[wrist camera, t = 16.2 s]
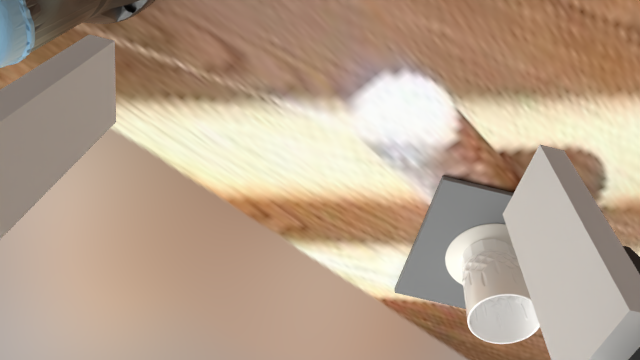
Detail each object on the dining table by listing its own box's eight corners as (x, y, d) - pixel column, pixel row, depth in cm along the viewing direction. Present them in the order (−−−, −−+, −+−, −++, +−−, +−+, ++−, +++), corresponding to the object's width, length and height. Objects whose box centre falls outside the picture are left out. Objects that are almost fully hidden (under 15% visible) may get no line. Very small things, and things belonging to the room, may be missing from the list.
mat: (394, 288, 69) (394, 293, 68) (442, 175, 59) (443, 180, 58) (527, 319, 70) (529, 324, 69) (598, 213, 59) (601, 218, 58)
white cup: (443, 258, 64) (452, 319, 56) (492, 223, 60) (511, 282, 52) (484, 290, 66) (499, 353, 58) (534, 258, 63) (558, 321, 54)
